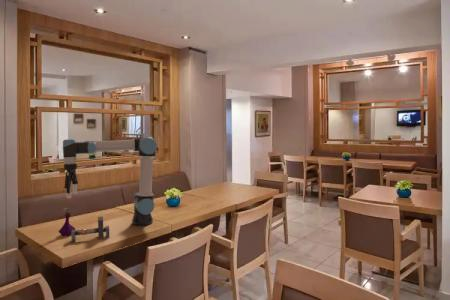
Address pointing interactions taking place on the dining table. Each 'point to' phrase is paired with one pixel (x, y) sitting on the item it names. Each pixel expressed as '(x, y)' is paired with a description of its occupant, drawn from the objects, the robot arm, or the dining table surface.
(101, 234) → the collar
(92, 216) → the dining table surface
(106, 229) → the pipe stand
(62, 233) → the perfume bottle
